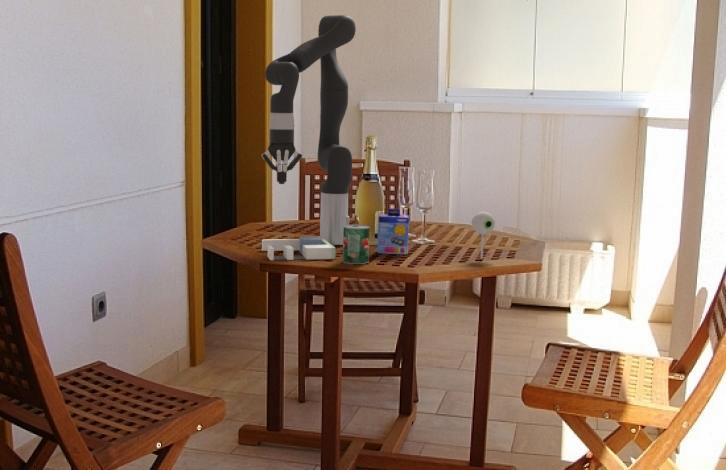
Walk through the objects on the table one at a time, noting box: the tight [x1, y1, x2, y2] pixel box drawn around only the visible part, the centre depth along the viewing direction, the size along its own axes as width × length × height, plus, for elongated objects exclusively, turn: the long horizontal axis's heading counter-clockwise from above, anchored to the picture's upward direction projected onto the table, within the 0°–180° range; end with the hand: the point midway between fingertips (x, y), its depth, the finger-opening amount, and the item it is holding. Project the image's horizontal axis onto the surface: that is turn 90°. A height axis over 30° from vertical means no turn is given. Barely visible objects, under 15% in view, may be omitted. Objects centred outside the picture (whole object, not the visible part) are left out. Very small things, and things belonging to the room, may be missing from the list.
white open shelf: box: [261, 238, 336, 261], centre depth 288 cm, size 20×18×4 cm
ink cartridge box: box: [377, 208, 410, 256], centre depth 295 cm, size 10×6×14 cm, turn 87°
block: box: [299, 236, 322, 256], centre depth 291 cm, size 6×6×5 cm
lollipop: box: [471, 211, 496, 260], centre depth 288 cm, size 7×7×15 cm
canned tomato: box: [342, 223, 371, 265], centre depth 277 cm, size 8×8×11 cm
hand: (281, 183), depth 286 cm, fingers closed
